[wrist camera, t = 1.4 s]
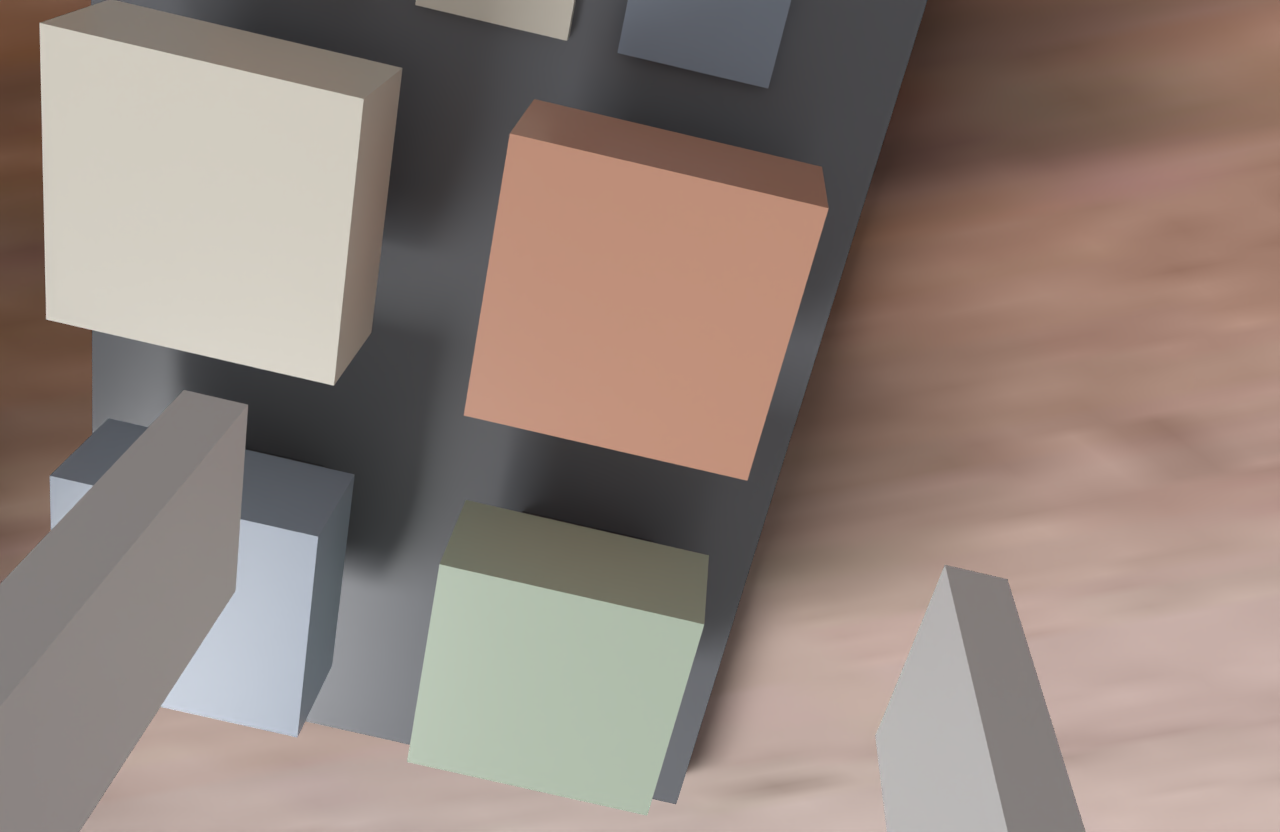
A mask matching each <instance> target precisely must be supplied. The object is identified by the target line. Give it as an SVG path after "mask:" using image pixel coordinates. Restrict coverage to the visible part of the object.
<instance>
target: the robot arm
mask: <svg viewBox="0 0 1280 832" xmlns="http://www.w3.org/2000/svg"><path fill="white" fill-rule="evenodd" d="M247 414H248V405H247V404H243V403H239V402H234V401H230V400H226V399H221V398H217V397H213V396H208V395H204V394H200V393H195V392H191V391H187V390H183V391H182V393H181V394H180V395H179V396H178V397H177V398H176V399H175V400H174V401H173V402H172V403H171V404H170V405H169V406H168V407H167V408H166V409H165V410H164V412H163V413H162V414H161V415H160V416H159V417H158V418H157V419H156V420H155V421H154V422H153V423H152V424H151V425H150V426H149V427H148V428H147V429H146V431H145V432H144V433H143V434H142V435H141V436H140V437H139V438H138V439H137V440H136V441H135V442H134V443H133V444H132V445H131V446H130V447H129V448H128V450H127V451H126V452H125V453H124V454H123V455H122V456H121V457H120V458H119V459H118V460H117V461H116V462H115V463H114V464H113V465H112V466H111V467H110V469H109V470H108V471H107V472H106V473H105V474H104V475H103V476H102V477H101V478H100V479H99V480H98V481H97V482H96V483H95V484H94V485H93V486H92V488H91V489H90V490H89V491H88V492H87V493H86V494H85V495H84V496H83V497H82V498H81V499H80V500H79V501H78V502H77V503H76V504H75V505H74V506H73V508H72V509H71V510H70V511H69V512H68V513H67V514H66V515H65V516H64V517H63V518H62V519H61V520H60V521H59V522H58V523H57V524H56V525H55V527H54V528H53V529H52V530H51V531H50V532H49V533H48V534H47V535H46V536H45V537H44V538H43V539H42V540H41V541H40V542H39V543H38V544H37V546H36V547H35V548H34V549H33V550H32V551H31V552H30V553H29V554H28V555H27V556H26V557H25V558H24V559H23V560H22V561H21V562H20V563H19V565H18V566H17V567H16V568H15V569H14V570H13V571H12V572H11V573H10V574H9V575H8V576H7V577H6V578H5V579H4V580H3V581H2V582H1V584H0V832H80V830H81V829H82V827H83V825H84V824H85V822H86V821H87V819H88V818H89V816H90V815H91V813H92V812H93V810H94V808H95V807H96V805H97V804H98V802H99V801H100V799H101V798H102V796H103V795H104V793H105V792H106V790H107V788H108V787H109V785H110V784H111V782H112V781H113V779H114V778H115V776H116V775H117V773H118V771H119V770H120V768H121V767H122V765H123V764H124V762H125V761H126V759H127V758H128V756H129V755H130V753H131V751H132V750H133V748H134V747H135V745H136V744H137V742H138V741H139V739H140V738H141V736H142V734H143V733H144V731H145V730H146V728H147V727H148V725H149V724H150V722H151V721H152V719H153V718H154V716H155V714H156V713H157V711H158V710H159V708H160V707H161V705H162V704H163V702H164V701H165V699H166V697H167V696H168V694H169V693H170V691H171V690H172V688H173V687H174V685H175V684H176V682H177V681H178V679H179V677H180V676H181V674H182V673H183V671H184V670H185V668H186V667H187V665H188V664H189V662H190V660H191V659H192V657H193V656H194V654H195V653H196V651H197V650H198V648H199V647H200V645H201V643H202V642H203V640H204V639H205V637H206V636H207V634H208V633H209V631H210V630H211V628H212V627H213V625H214V623H215V622H216V620H217V619H218V617H219V616H220V614H221V613H222V611H223V610H224V608H225V606H226V605H227V603H228V602H229V600H230V599H231V597H232V596H233V594H234V593H235V591H236V578H237V563H238V548H239V533H240V518H241V503H242V489H243V474H244V459H245V444H246V429H247ZM875 737H876V745H877V753H878V762H879V770H880V778H881V786H882V795H883V803H884V811H885V820H886V828H887V832H1085V828H1084V825H1083V822H1082V819H1081V815H1080V812H1079V809H1078V806H1077V803H1076V799H1075V796H1074V793H1073V790H1072V786H1071V783H1070V780H1069V777H1068V773H1067V770H1066V767H1065V764H1064V761H1063V757H1062V754H1061V751H1060V748H1059V744H1058V741H1057V738H1056V735H1055V731H1054V728H1053V725H1052V722H1051V718H1050V715H1049V712H1048V709H1047V706H1046V702H1045V699H1044V696H1043V693H1042V689H1041V686H1040V683H1039V680H1038V676H1037V673H1036V670H1035V667H1034V664H1033V660H1032V657H1031V654H1030V651H1029V647H1028V644H1027V641H1026V638H1025V634H1024V631H1023V628H1022V625H1021V621H1020V618H1019V615H1018V612H1017V609H1016V605H1015V602H1014V599H1013V596H1012V592H1011V589H1010V586H1009V583H1008V579H1004V578H1000V577H996V576H991V575H987V574H982V573H978V572H974V571H969V570H965V569H961V568H956V567H952V566H948V565H945V566H944V568H943V571H942V573H941V576H940V578H939V581H938V583H937V586H936V588H935V591H934V593H933V596H932V598H931V600H930V603H929V605H928V608H927V610H926V613H925V615H924V618H923V620H922V623H921V625H920V627H919V630H918V632H917V635H916V637H915V640H914V642H913V645H912V647H911V650H910V652H909V655H908V657H907V659H906V662H905V664H904V667H903V669H902V672H901V674H900V677H899V679H898V682H897V684H896V687H895V689H894V691H893V694H892V696H891V699H890V701H889V704H888V706H887V709H886V711H885V714H884V716H883V719H882V721H881V723H880V726H879V728H878V731H877V733H876V736H875Z"/></svg>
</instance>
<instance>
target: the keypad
mask: <svg viewBox="0 0 1280 832" xmlns="http://www.w3.org/2000/svg"><path fill="white" fill-rule="evenodd" d="M103 1H106V0H91V5H94V4H97V3H100V2H103ZM116 1H121V2H125V3H129V4H133V5H138V6H142V7H146V8H150V9H155V10H159V11H163V12H167V13H172V14H176V15H180V16H184V17H189V18H193V19H197V20H201V21H206V22H210V23H214V24H218V25H223V26H227V27H231V28H235V29H239V30H244V31H248V32H252V33H256V34H261V35H265V36H269V37H273V38H278V39H282V40H286V41H290V42H295V43H299V44H303V45H307V46H312V47H316V48H320V49H324V50H329V51H333V52H337V53H341V54H346V55H350V56H354V57H358V58H363V59H367V60H371V61H375V62H380V63H384V64H388V65H392V66H396V67H401V68H402V77H401V85H400V94H399V102H398V111H397V119H396V128H395V136H394V145H393V153H392V162H391V170H390V179H389V187H388V196H387V204H386V213H385V221H384V230H383V238H382V247H381V255H380V264H379V272H378V281H377V289H376V298H375V306H374V315H373V323H372V332H371V334H370V335H369V337H368V338H367V339H366V341H365V342H364V344H363V345H362V347H361V348H360V349H359V351H358V352H357V354H356V355H355V356H354V358H353V359H352V361H351V362H350V364H349V365H348V366H347V368H346V369H345V371H344V372H343V373H342V375H341V376H340V378H339V379H338V381H337V382H336V383H335V385H334V386H333V385H329V384H325V383H320V382H316V381H312V380H307V379H303V378H299V377H294V376H290V375H286V374H281V373H277V372H272V371H268V370H264V369H259V368H255V367H251V366H246V365H242V364H238V363H233V362H229V361H225V360H220V359H216V358H212V357H207V356H203V355H199V354H194V353H190V352H185V351H181V350H177V349H172V348H168V347H164V346H159V345H155V344H151V343H146V342H142V341H138V340H133V339H129V338H125V337H120V336H116V335H111V334H107V333H103V332H98V331H94V330H92V434H93V433H94V432H95V431H96V430H97V429H98V428H99V427H100V426H101V425H102V424H103V423H104V422H105V421H106V420H107V419H108V418H110V419H114V420H119V421H123V422H127V423H132V424H136V425H140V426H145V427H149V426H150V425H151V424H152V423H153V422H154V421H155V420H156V419H157V418H158V417H159V416H160V415H161V414H162V413H163V412H164V410H165V409H166V408H167V407H168V406H169V405H170V404H171V403H172V402H173V401H174V400H175V399H176V398H177V397H178V396H179V395H180V394H181V393H182V391H183V390H187V391H191V392H195V393H200V394H204V395H208V396H213V397H217V398H221V399H226V400H230V401H234V402H239V403H243V404H247V405H248V414H247V429H246V444H245V449H246V450H250V451H254V452H259V453H263V454H267V455H272V456H276V457H281V458H285V459H289V460H294V461H298V462H302V463H307V464H311V465H316V466H320V467H324V468H329V469H333V470H337V471H342V472H346V473H351V474H355V476H354V485H353V493H352V502H351V510H350V519H349V527H348V536H347V544H346V553H345V561H344V570H343V578H342V587H341V595H340V604H339V612H338V621H337V629H336V638H335V646H334V655H333V663H332V667H331V669H330V671H329V673H328V675H327V677H326V679H325V681H324V683H323V686H322V688H321V690H320V692H319V694H318V696H317V698H316V700H315V702H314V704H313V706H312V708H311V710H310V712H309V714H308V716H307V719H306V721H307V722H311V723H316V724H320V725H325V726H329V727H334V728H338V729H342V730H347V731H351V732H356V733H360V734H365V735H369V736H374V737H378V738H383V739H387V740H392V741H396V742H400V743H405V744H409V745H410V741H411V735H412V729H413V723H414V717H415V711H416V705H417V699H418V693H419V686H420V680H421V674H422V668H423V662H424V656H425V650H426V644H427V637H428V631H429V625H430V619H431V613H432V607H433V601H434V595H435V588H436V582H437V576H438V570H439V564H440V562H441V559H442V557H443V554H444V552H445V550H446V547H447V545H448V542H449V540H450V537H451V535H452V532H453V530H454V528H455V525H456V523H457V520H458V518H459V515H460V513H461V510H462V508H463V506H464V503H465V501H466V500H469V501H473V502H478V503H482V504H486V505H491V506H495V507H499V508H504V509H508V510H513V511H517V512H521V513H526V514H530V515H534V516H539V517H543V518H548V519H552V520H556V521H561V522H565V523H570V524H574V525H578V526H583V527H587V528H591V529H596V530H600V531H605V532H609V533H613V534H618V535H622V536H626V537H631V538H635V539H640V540H644V541H648V542H653V543H657V544H661V545H666V546H670V547H675V548H679V549H683V550H688V551H692V552H696V553H701V554H705V555H709V562H708V577H707V592H706V607H705V622H704V627H703V631H702V634H701V637H700V641H699V644H698V647H697V651H696V654H695V657H694V661H693V664H692V667H691V671H690V674H689V677H688V681H687V684H686V687H685V691H684V694H683V698H682V701H681V704H680V708H679V711H678V714H677V718H676V721H675V724H674V728H673V731H672V734H671V738H670V741H669V744H668V748H667V751H666V754H665V758H664V761H663V764H662V768H661V771H660V775H659V778H658V781H657V785H656V788H655V791H654V795H653V798H652V799H655V800H659V801H664V802H668V803H673V804H676V803H677V800H678V797H679V793H680V790H681V787H682V784H683V781H684V777H685V774H686V771H687V768H688V765H689V761H690V758H691V755H692V752H693V749H694V745H695V742H696V739H697V736H698V733H699V729H700V726H701V723H702V720H703V717H704V713H705V710H706V707H707V704H708V701H709V697H710V694H711V691H712V688H713V685H714V681H715V678H716V675H717V672H718V669H719V665H720V662H721V659H722V656H723V653H724V649H725V646H726V643H727V640H728V637H729V633H730V630H731V627H732V624H733V621H734V617H735V614H736V611H737V608H738V605H739V601H740V598H741V595H742V592H743V589H744V585H745V582H746V579H747V576H748V573H749V569H750V566H751V563H752V560H753V557H754V554H755V550H756V547H757V544H758V541H759V538H760V534H761V531H762V528H763V525H764V522H765V518H766V515H767V512H768V509H769V506H770V502H771V499H772V496H773V493H774V490H775V486H776V483H777V480H778V477H779V474H780V470H781V467H782V464H783V461H784V458H785V454H786V451H787V448H788V445H789V442H790V438H791V435H792V432H793V429H794V426H795V422H796V419H797V416H798V413H799V410H800V406H801V403H802V400H803V397H804V394H805V390H806V387H807V384H808V381H809V378H810V374H811V371H812V368H813V365H814V362H815V358H816V355H817V352H818V349H819V346H820V342H821V339H822V336H823V333H824V330H825V326H826V323H827V320H828V317H829V314H830V310H831V307H832V304H833V301H834V298H835V294H836V291H837V288H838V285H839V282H840V278H841V275H842V272H843V269H844V266H845V262H846V259H847V256H848V253H849V250H850V246H851V243H852V240H853V237H854V234H855V230H856V227H857V224H858V221H859V218H860V214H861V211H862V208H863V205H864V202H865V198H866V195H867V192H868V189H869V186H870V182H871V179H872V176H873V173H874V170H875V166H876V163H877V160H878V157H879V154H880V150H881V147H882V144H883V141H884V138H885V134H886V131H887V128H888V125H889V122H890V118H891V115H892V112H893V109H894V106H895V102H896V99H897V96H898V93H899V90H900V86H901V83H902V80H903V77H904V74H905V70H906V67H907V64H908V61H909V58H910V54H911V51H912V48H913V45H914V42H915V38H916V35H917V32H918V29H919V26H920V22H921V19H922V16H923V13H924V10H925V6H926V3H927V0H116ZM534 99H537V100H541V101H545V102H549V103H553V104H558V105H562V106H566V107H570V108H575V109H579V110H583V111H587V112H592V113H596V114H600V115H604V116H609V117H613V118H617V119H621V120H626V121H630V122H634V123H638V124H643V125H647V126H651V127H655V128H660V129H664V130H668V131H672V132H677V133H681V134H685V135H689V136H694V137H698V138H702V139H706V140H710V141H715V142H719V143H723V144H727V145H732V146H736V147H740V148H744V149H749V150H753V151H757V152H761V153H766V154H770V155H774V156H778V157H783V158H787V159H791V160H795V161H800V162H804V163H808V164H812V165H817V166H821V167H822V170H823V176H824V182H825V188H826V195H827V201H828V207H829V209H828V212H827V216H826V219H825V222H824V226H823V229H822V232H821V236H820V239H819V242H818V246H817V249H816V252H815V256H814V259H813V262H812V266H811V269H810V272H809V276H808V279H807V282H806V286H805V289H804V293H803V296H802V299H801V303H800V306H799V309H798V313H797V316H796V319H795V323H794V326H793V329H792V333H791V336H790V339H789V343H788V346H787V349H786V353H785V356H784V359H783V363H782V366H781V370H780V373H779V376H778V380H777V383H776V386H775V390H774V393H773V396H772V400H771V403H770V406H769V410H768V413H767V416H766V420H765V423H764V426H763V430H762V433H761V436H760V440H759V443H758V446H757V450H756V453H755V457H754V460H753V463H752V467H751V470H750V473H749V477H748V480H742V479H738V478H734V477H729V476H725V475H721V474H716V473H712V472H707V471H703V470H699V469H694V468H690V467H686V466H681V465H677V464H673V463H668V462H664V461H660V460H655V459H651V458H647V457H642V456H638V455H634V454H629V453H625V452H620V451H616V450H612V449H607V448H603V447H599V446H594V445H590V444H586V443H581V442H577V441H573V440H568V439H564V438H560V437H555V436H551V435H547V434H542V433H538V432H533V431H529V430H525V429H520V428H516V427H512V426H507V425H503V424H499V423H494V422H490V421H486V420H481V419H477V418H473V417H468V416H464V411H465V405H466V399H467V392H468V386H469V380H470V374H471V368H472V362H473V356H474V350H475V343H476V337H477V331H478V325H479V319H480V313H481V307H482V301H483V294H484V288H485V282H486V276H487V270H488V264H489V258H490V252H491V246H492V239H493V233H494V227H495V221H496V215H497V209H498V203H499V197H500V190H501V184H502V178H503V172H504V166H505V160H506V154H507V148H508V141H509V135H510V132H511V131H512V130H513V128H514V127H515V125H516V124H517V123H518V121H519V120H520V118H521V117H522V116H523V114H524V113H525V111H526V110H527V109H528V107H529V106H530V104H531V103H532V101H533V100H534Z"/></svg>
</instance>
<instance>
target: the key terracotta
mask: <svg viewBox="0 0 1280 832" xmlns="http://www.w3.org/2000/svg"><path fill="white" fill-rule="evenodd" d="M828 209H829V207H828V201H827V195H826V188H825V182H824V176H823V170H822V167H821V166H817V165H812V164H808V163H804V162H800V161H795V160H791V159H787V158H783V157H778V156H774V155H770V154H766V153H761V152H757V151H753V150H749V149H744V148H740V147H736V146H732V145H727V144H723V143H719V142H715V141H710V140H706V139H702V138H698V137H694V136H689V135H685V134H681V133H677V132H672V131H668V130H664V129H660V128H655V127H651V126H647V125H643V124H638V123H634V122H630V121H626V120H621V119H617V118H613V117H609V116H604V115H600V114H596V113H592V112H587V111H583V110H579V109H575V108H570V107H566V106H562V105H558V104H553V103H549V102H545V101H541V100H537V99H534V100H533V101H532V103H531V104H530V106H529V107H528V109H527V110H526V111H525V113H524V114H523V116H522V117H521V118H520V120H519V121H518V123H517V124H516V125H515V127H514V128H513V130H512V131H511V132H510V135H509V141H508V148H507V154H506V160H505V166H504V172H503V178H502V184H501V190H500V197H499V203H498V209H497V215H496V221H495V227H494V233H493V239H492V246H491V252H490V258H489V264H488V270H487V276H486V282H485V288H484V294H483V301H482V307H481V313H480V319H479V325H478V331H477V337H476V343H475V350H474V356H473V362H472V368H471V374H470V380H469V386H468V392H467V399H466V405H465V411H464V416H468V417H473V418H477V419H481V420H486V421H490V422H494V423H499V424H503V425H507V426H512V427H516V428H520V429H525V430H529V431H533V432H538V433H542V434H547V435H551V436H555V437H560V438H564V439H568V440H573V441H577V442H581V443H586V444H590V445H594V446H599V447H603V448H607V449H612V450H616V451H620V452H625V453H629V454H634V455H638V456H642V457H647V458H651V459H655V460H660V461H664V462H668V463H673V464H677V465H681V466H686V467H690V468H694V469H699V470H703V471H707V472H712V473H716V474H721V475H725V476H729V477H734V478H738V479H742V480H748V477H749V473H750V470H751V467H752V463H753V460H754V457H755V453H756V450H757V446H758V443H759V440H760V436H761V433H762V430H763V426H764V423H765V420H766V416H767V413H768V410H769V406H770V403H771V400H772V396H773V393H774V390H775V386H776V383H777V380H778V376H779V373H780V370H781V366H782V363H783V359H784V356H785V353H786V349H787V346H788V343H789V339H790V336H791V333H792V329H793V326H794V323H795V319H796V316H797V313H798V309H799V306H800V303H801V299H802V296H803V293H804V289H805V286H806V282H807V279H808V276H809V272H810V269H811V266H812V262H813V259H814V256H815V252H816V249H817V246H818V242H819V239H820V236H821V232H822V229H823V226H824V222H825V219H826V216H827V212H828Z"/></svg>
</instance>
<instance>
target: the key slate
mask: <svg viewBox="0 0 1280 832" xmlns="http://www.w3.org/2000/svg"><path fill="white" fill-rule="evenodd" d="M147 428H148V427H145V426H140V425H136V424H132V423H127V422H123V421H119V420H114V419H110V418H108V419H107V420H106V421H105V422H104V423H103V424H102V425H101V426H100V427H99V428H98V429H97V430H96V431H95V432H94V433H93V434H92V435H91V436H90V437H89V438H88V439H87V440H86V441H85V442H84V443H83V444H82V445H81V446H80V447H79V448H78V449H77V450H76V451H75V452H74V453H73V454H71V455H70V456H69V457H68V458H67V459H66V460H65V461H64V462H63V463H62V464H61V465H60V466H59V467H58V468H57V469H56V470H55V471H54V472H53V473H52V474H51V475H50V510H51V530H52V529H53V528H54V527H55V525H56V524H57V523H58V522H59V521H60V520H61V519H62V518H63V517H64V516H65V515H66V514H67V513H68V512H69V511H70V510H71V509H72V508H73V506H74V505H75V504H76V503H77V502H78V501H79V500H80V499H81V498H82V497H83V496H84V495H85V494H86V493H87V492H88V491H89V490H90V489H91V488H92V486H93V485H94V484H95V483H96V482H97V481H98V480H99V479H100V478H101V477H102V476H103V475H104V474H105V473H106V472H107V471H108V470H109V469H110V467H111V466H112V465H113V464H114V463H115V462H116V461H117V460H118V459H119V458H120V457H121V456H122V455H123V454H124V453H125V452H126V451H127V450H128V448H129V447H130V446H131V445H132V444H133V443H134V442H135V441H136V440H137V439H138V438H139V437H140V436H141V435H142V434H143V433H144V432H145V431H146V429H147ZM354 476H355V474H351V473H346V472H342V471H337V470H333V469H329V468H324V467H320V466H316V465H311V464H307V463H302V462H298V461H294V460H289V459H285V458H281V457H276V456H272V455H267V454H263V453H259V452H254V451H250V450H246V449H245V459H244V474H243V489H242V503H241V518H240V533H239V548H238V563H237V578H236V591H235V593H234V594H233V596H232V597H231V599H230V600H229V602H228V603H227V605H226V606H225V608H224V610H223V611H222V613H221V614H220V616H219V617H218V619H217V620H216V622H215V623H214V625H213V627H212V628H211V630H210V631H209V633H208V634H207V636H206V637H205V639H204V640H203V642H202V643H201V645H200V647H199V648H198V650H197V651H196V653H195V654H194V656H193V657H192V659H191V660H190V662H189V664H188V665H187V667H186V668H185V670H184V671H183V673H182V674H181V676H180V677H179V679H178V681H177V682H176V684H175V685H174V687H173V688H172V690H171V691H170V693H169V694H168V696H167V697H166V699H165V701H164V702H163V704H162V705H161V707H164V708H168V709H173V710H177V711H182V712H186V713H191V714H195V715H200V716H204V717H209V718H213V719H217V720H222V721H226V722H231V723H235V724H240V725H244V726H249V727H253V728H258V729H262V730H267V731H271V732H276V733H280V734H285V735H289V736H293V737H298V735H299V733H300V731H301V729H302V727H303V725H304V723H305V721H306V719H307V716H308V714H309V712H310V710H311V708H312V706H313V704H314V702H315V700H316V698H317V696H318V694H319V692H320V690H321V688H322V686H323V683H324V681H325V679H326V677H327V675H328V673H329V671H330V669H331V667H332V663H333V655H334V646H335V638H336V629H337V621H338V612H339V604H340V595H341V587H342V578H343V570H344V561H345V553H346V544H347V536H348V527H349V519H350V510H351V502H352V493H353V485H354Z"/></svg>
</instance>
